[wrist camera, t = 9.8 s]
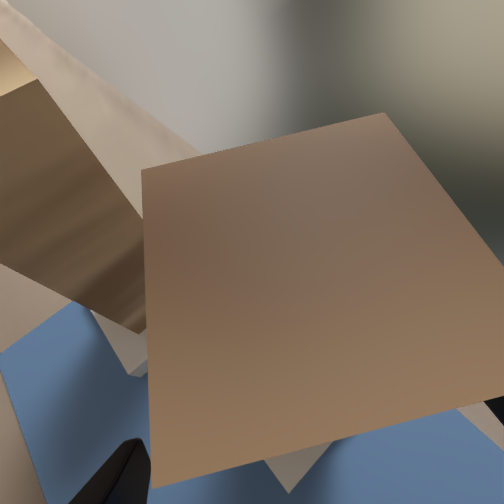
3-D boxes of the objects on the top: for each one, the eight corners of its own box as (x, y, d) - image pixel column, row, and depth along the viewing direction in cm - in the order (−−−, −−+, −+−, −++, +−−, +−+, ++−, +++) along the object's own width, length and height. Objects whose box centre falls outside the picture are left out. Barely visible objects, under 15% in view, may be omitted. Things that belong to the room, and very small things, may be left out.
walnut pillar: (341, 402, 13) (585, 373, 3) (260, 424, 13) (151, 489, 2) (313, 322, 15) (383, 112, 5) (242, 340, 15) (141, 170, 4)
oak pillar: (194, 289, 17) (37, 78, 6) (138, 334, 16) (-168, 176, 5) (160, 248, 19) (-10, 28, 8) (107, 287, 18) (-172, 94, 7)
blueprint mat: (537, 487, 13) (580, 500, 11) (239, 1007, 8) (226, 1180, 6) (218, 201, 23) (212, 183, 21) (4, 358, 18) (-27, 352, 16)
